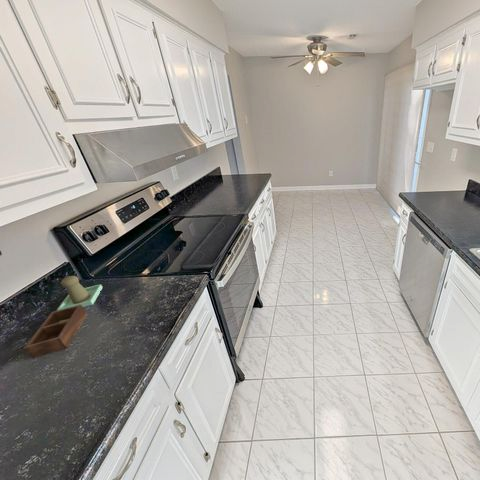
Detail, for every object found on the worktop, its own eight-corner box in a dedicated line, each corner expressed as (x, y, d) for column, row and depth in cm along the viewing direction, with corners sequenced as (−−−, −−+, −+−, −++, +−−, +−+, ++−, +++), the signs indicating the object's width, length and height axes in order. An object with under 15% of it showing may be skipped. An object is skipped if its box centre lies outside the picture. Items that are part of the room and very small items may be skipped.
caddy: (33, 358, 82) (23, 348, 80) (58, 321, 97) (51, 311, 94) (67, 348, 85) (59, 338, 83) (87, 313, 99) (81, 304, 97)
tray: (59, 313, 101) (56, 309, 100) (72, 294, 111) (70, 291, 110) (92, 304, 104) (90, 301, 103) (102, 287, 114) (100, 284, 113)
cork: (89, 299, 107) (76, 278, 101) (71, 306, 104) (56, 284, 98) (91, 292, 111) (78, 271, 106) (73, 298, 108) (59, 277, 103)
